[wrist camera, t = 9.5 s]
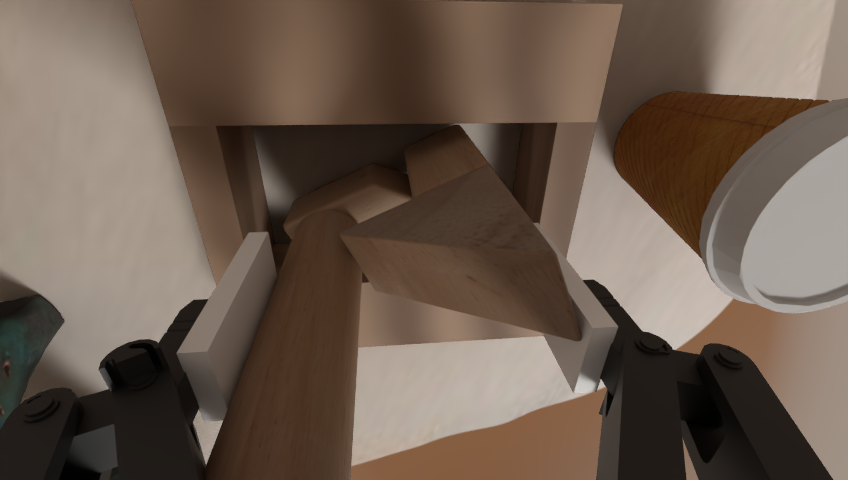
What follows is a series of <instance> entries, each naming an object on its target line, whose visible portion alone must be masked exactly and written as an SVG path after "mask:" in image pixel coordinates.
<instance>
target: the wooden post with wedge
mask: <svg viewBox="0 0 848 480" xmlns="http://www.w3.org/2000/svg"><path fill="white" fill-rule="evenodd" d="M404 156H405V161H406V166H407V172H408V174H405V173H402V172H399V171H396V170H393V169H390V168H387V167H384V166H381V165H378V164H371V165H368V166H366V167H364V168H362V169H359V170H357V171H355V172H353V173H351V174H349V175H347V176H344V177H342V178H340V179H338V180H336V181H334V182H332V183H329V184H327V185H325V186H323V187H321V188H319V189H317V190H315V191H312V192H310V193H308V194H306V195H304V196H302V197H300V198H297V199H296V200H295V201H294V202H293V204H292V207H291V209H290V211H289V213H288V215H287V218H286V220H285V222H284V224H283V227H284V230H285V232H286V233H287V234H288V236H289V237H290V238H291V240H292V241H291V244H290V246H289V249H288V252H287V254H286V257H285V260H284V262H283V265H282V267H281V270H280V273H279V275H278V278H277V281H276V283H275V286H274V289H273V291H272V294H271V296H270V299H269V302H268V304H267V307H266V310H265V312H264V315H263V317H262V320H261V323H260V325H259V328H258V331H257V333H256V336H255V339H254V341H253V344H252V346H251V349H250V352H249V354H248V357H247V360H246V362H245V365H244V368H243V370H242V373H241V375H240V378H239V381H238V383H237V386H236V389H235V391H234V394H233V396H232V399H231V402H230V404H229V407H228V410H227V412H226V415H225V418H224V420H223V423H222V425H221V428H220V431H219V433H218V436H217V439H216V441H215V444H214V447H213V449H212V452H211V454H210V457H209V460H208V462H207V465H206V468H205V476H206V480H350V477H351V459H352V442H353V425H354V408H355V391H356V374H357V357H358V340H359V322H360V305H361V288H362V271H363V273H364V274H365V276H366V277H367V279H368V280H369V282H370V283H371V285H372V286H373V288H374V290H375V291H377V292H381V293H385V294H389V295H393V296H397V297H401V298H405V299H409V300H413V301H417V302H421V303H425V304H429V305H433V306H437V307H441V308H445V309H449V310H453V311H457V312H461V313H465V314H469V315H473V316H477V317H481V318H485V319H489V320H493V321H497V322H501V323H505V324H509V325H513V326H517V327H521V328H525V329H529V330H533V331H537V332H541V333H545V334H549V335H553V336H557V337H561V338H565V339H569V340H573V341H581V338H582V335H581V331H580V328H579V325H578V321H577V318H576V315H575V312H574V309H573V305H572V302H571V299H570V296H569V292H568V289H567V286H566V283H565V280H564V276H563V273H562V270H561V267H560V264H559V260H558V257H557V254H556V253H555V251H554V250H553V249H552V247H551V246H550V245H549V243H548V242H547V241H546V239H545V238H544V237H543V235H542V234H541V233H540V231H539V230H538V229H537V227H536V226H535V225H534V223H533V222H532V221H531V219H530V218H529V217H528V215H527V214H526V213H525V211H524V210H523V209H522V207H521V206H520V205H519V203H518V202H517V201H516V199H515V198H514V197H513V195H512V194H511V193H510V191H509V190H508V189H507V187H506V186H505V185H504V183H503V182H502V181H501V179H500V178H499V177H498V175H497V174H496V173H495V171H494V170H493V169H492V167H491V166H490V165H489V163H488V162H487V161H486V159H485V158H484V157H483V155H482V154H481V153H480V151H479V150H478V149H477V147H476V146H475V145H474V143H473V142H472V141H471V139H470V138H469V136H468V135H467V134H466V132H465V131H464V130H463V128H462V127H461V126H460V125H453V126H451V127H449V128H447V129H444V130H442V131H440V132H438V133H436V134H434V135H432V136H429V137H427V138H425V139H423V140H421V141H419V142H417V143H415V144H412V145H410V146H408V147H407V148H406V149H405V150H404Z"/></svg>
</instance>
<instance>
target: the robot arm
mask: <svg viewBox="0 0 848 480" xmlns="http://www.w3.org/2000/svg"><path fill="white" fill-rule="evenodd" d="M534 225H535V226H536V227H537V229H538V230H539V231H540V233H541V234H542V235H543V237H544V238H545V239H546V241H547V242H548V243H549V245H550V246H551V247H552V249H553V250H554V251H555V253H556V254H557V257H558V260H559V264H560V267H561V270H562V273H563V276H564V280H565V283H566V286H567V289H568V292H569V296H570V299H571V302H572V305H573V309H574V312H575V315H576V318H577V321H578V325H579V328H580V331H581V335H582V338H581V341H573V340H569V339H565V338H561V337H557V336H553V335H549V334H545V333H543V335H544V337H545V339H546V341H547V343H548V345H549V347H550V348H551V350H552V352H553V354H554V356H555V358H556V360H557V362H558V364H559V366H560V368H561V370H562V372H563V374H564V376H565V378H566V379H567V381H568V383H569V385H570V387H571V389H572V391H573V393H585V392H596V391H597V388H598V385H599V382H600V379H602V381H603V383H604V384H605V386H606V387H607V392H606V395H605V397H604V400H603V403H602V406H601V409H600V412H599V414H601V415H603V417H602V427H601V437H600V447H599V457H598V468H597V477H596V480H686V472H685V462H684V450H683V440H684V443H685V445H686V448H687V450H688V453H689V456H690V458H691V461H692V463H693V466H694V468H695V471H696V474H697V476H698V479H699V480H833V479H832V477H831V476H830V474H829V473H828V471H827V470H826V468H825V467H824V466H823V464H822V462H821V461H820V459H819V458H818V457H817V455H816V453H815V452H814V451H813V449H812V448H811V446H810V445H809V443H808V442H807V440H806V439H805V437H804V436H803V434H802V433H801V432H800V430H799V429H798V427H797V425H796V424H795V422H794V421H793V420H792V418H791V417H790V415H789V414H788V412H787V411H786V409H785V408H784V406H783V405H782V403H781V402H780V400H779V399H778V397H777V396H776V395H775V393H774V392H773V390H772V389H771V387H770V386H769V384H768V383H767V381H766V380H765V378H764V377H763V375H762V374H761V372H760V371H759V369H758V368H757V366H756V365H755V364H754V362H753V361H752V360H751V359H750V358H749V357H748V356H746V355H745V354H743V353H742V352H740V351H739V350H737V349H734V348H732V347H730V346H726V345H722V344H711V343H710V344H708V345H705V346H704V348H703V349H702V351H701V353H700V355H698V354H693V353H687V352H681V351H676V350H673V349H672V347H671V346H670V345H669V344H668V343H667V342H666V341H665V340H663V339H662V338H660V337H658V336H656V335H654V334H651V333H648V332H642V330H641V329H640V328H639V327H638V326H637V324H636V323H635V322H634V321H633V320H632V318H631V317H630V316H629V315H628V314H627V312H626V311H625V310H624V309H623V308H622V307H621V306H620V304H619V303H618V302H617V301H616V299H614V298H613V296H612V295H611V293H610V292H609V291H608V290H607V289H606V287H604V286H603V285H601V284H599V283H598V282H596V281H595V280H582V279H581V278H580V276H579V275H578V274H577V273H576V271H575V270H574V269H573V267H572V266H571V265H570V263H569V262H568V261H567V260H566V258H565V257H564V256H563V254H562V253H561V252H560V250H559V249H558V248H557V247H556V245H555V244H554V243H553V241H552V240H551V239H550V238H549V236H548V235H547V234H546V232H545V231H544V230H543V228H542V227H541V226H540V225H539V223H534ZM277 278H278V277H277V273H276V268H275V263H274V258H273V253H272V248H271V243H270V238H269V233H268V232H250V233H248V235H247V236H246V238H245V240H244V241H243V243H242V245H241V246H240V248H239V250H238V251H237V253H236V255H235V256H234V258H233V260H232V261H231V263H230V265H229V266H228V268H227V270H226V271H225V273H224V275H223V276H222V278H221V280H220V281H219V283H218V285H217V286H216V288H215V290H214V291H213V293H212V295H211V296H210V298H209V299H203V300H193V301H192V302H190V303H189V304H188V305H187V306H185V307H184V308H183V309H181V310H180V312H179V313H178V315H177V316H176V318H175V319H174V321H173V323H172V324H171V325H170V327H169V328H168V330H167V333H165V334H164V336H163V337H162V339H161V340H160V342H159V343H157V342H156V341H153V340H150V339H146V340H137V341H133V342H129V343H126V344H124V345H122V346H120V347H118V348H116V349H115V350H113V351H112V352H110V353H109V354H108V355H107V356H106V357H105V358H104V359H103V360H102V361H101V363H100V367H99V371H100V373H101V375H102V377H103V378H104V380H105V382H106V384H107V386H108V388H109V389H108V390H105V391H101V392H98V393H95V394H91V395H88V396H84V397H81V398H77V396H76V395H75V393H74V392H73V391H72V390H71V389H67V388H56V389H50V390H47V391H44V392H41V393H39V394H36V395H35V396H33V397H31V398H29V399H27V400H25V401H24V402H23V403H21V404H20V405H19V406H18V407H16V408H15V409H14V410H13V411H12V412H11V414H10V415H9V416H8V417H7V419H6V420H5V422H4V424H3V426H2V428H1V430H0V480H109V479H110V475H111V471H112V468H115V467H118V475H119V480H206V476H205V468H206V464H205V460H204V457H203V453H202V450H201V446H200V443H199V439H198V436H197V432H196V429H195V427H194V424H193V420H194V418H195V416H196V414H197V412H198V410H199V411H200V413H201V416H202V418H203V421H204V422H205V421H219V420H224V418H225V415H226V412H227V410H228V407H229V404H230V402H231V399H232V396H233V394H234V391H235V389H236V386H237V383H238V381H239V378H240V375H241V373H242V370H243V368H244V365H245V362H246V360H247V357H248V354H249V352H250V349H251V346H252V344H253V341H254V339H255V336H256V333H257V331H258V328H259V325H260V323H261V320H262V317H263V315H264V312H265V310H266V307H267V304H268V302H269V299H270V296H271V294H272V291H273V289H274V286H275V283H276V281H277ZM682 437H683V440H682Z"/></svg>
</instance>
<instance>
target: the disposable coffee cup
mask: <svg viewBox="0 0 848 480" xmlns="http://www.w3.org/2000/svg"><path fill="white" fill-rule="evenodd" d="M614 160H615V165H616V168H617V171H618V173H619V174H620V176H621V177H622V178H623V179H624V180H625V181H626V182H627V183H628V184H629V185H630V186H631V187H632V188H633V189H634V190H635V191H636V192H637V193H638V194H639V195H640V196H641V197H642V198H643V199H644V200H645V201H646V202H647V203H648V205H649V206H650V207H651V208H652V209H653V210H654V211H655V212H656V213H657V214H658V215H659V216H660V217H661V218H662V219H663V220H664V221H665V222H666V223H667V224H668V225H669V226H670V227H671V228H672V229H673V230H674V231H675V232H676V233H677V234H678V235H679V236H680V237H681V238H682V239H683V240H684V241H685V242H686V243H687V244H688V245H689V246H690V247H691V248H692V249H693V250H694V251H695V252H696V253H697V254H698V255H699V257H700V258H702V260H703V262H704V264H705V267H706V269H707V271H708V273H709V275H710V278H711V280H712V281H713V282H714V283H715V284H716V285H717V286H718V287H719V288H720V289H721V290H722V291H723V292H724V293H725V294H727V295H729V296H731V297H733V298H735V299H737V300H739V301H743V302H747V303H754V304H758V305H760V306H763V307H765V308H768V309H770V310H773V311H777V312H784V313H803V312H810V311H816V310H821V309H824V308H828V307H831V306H834V305H837V304H840V303H844V302H846V301H848V98H846V99H840V100H832V101H830V102H829V101H828V100H815V101H814V100H812V99H801V100H799V99H795V98H787V99H786V98H773V97H757V96H739V95H720V94H702V93H686V92H671V93H665V94H662V95H659V96H656V97H655V98H653V99H651V100H649V101H647V102H646V103H645V104H643V105H642V106H641V107H639V108H638V109H637V110H636V111H635V112H634V113H633V114H632V115H631V116H630V117H629V119H628V120H627V121H626V123H625V124H624V126H623V127H622V129H621V131H620V133H619V135H618V138H617V141H616V145H615V153H614Z"/></svg>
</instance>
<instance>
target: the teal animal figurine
mask: <svg viewBox="0 0 848 480" xmlns="http://www.w3.org/2000/svg"><path fill="white" fill-rule="evenodd" d="M63 323H64V320H63V319H62V316H61V314H60V312H59V311H58V310H57V309H56V308H54V307H53V306H52V305H51V304H50V303H49V302H47V301H46V300H45V299H44V298H42V297H41V296H29V297H25V298H21V299H18V300H15V301H7V302H1V303H0V430H1V428H2V426H3V424H4V422H5V420H6V419H7V417H8V416H9V415H10V414H11V412H12V411H13V410H14V409H15V408H16V407H18V406H19V405H20V402H21V400H22V397H23V395H24V392H25V389H26V387H27V384H28V381H29V378H30V376H31V374H32V373H33V371H34V369H35V367H36V365H37V363H38V362H39V360H40V358H41V356H42V354H43V353H44V351H45V349H46V347H47V346H48V344H49V343H50V341H51V340H52V338H53V337H54V336H55V334H56V333H57V331H58V330H59V328H60V327H61V326H62V324H63ZM109 480H119V475H118V467H115V468H112V471H111V475H110V479H109Z"/></svg>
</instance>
